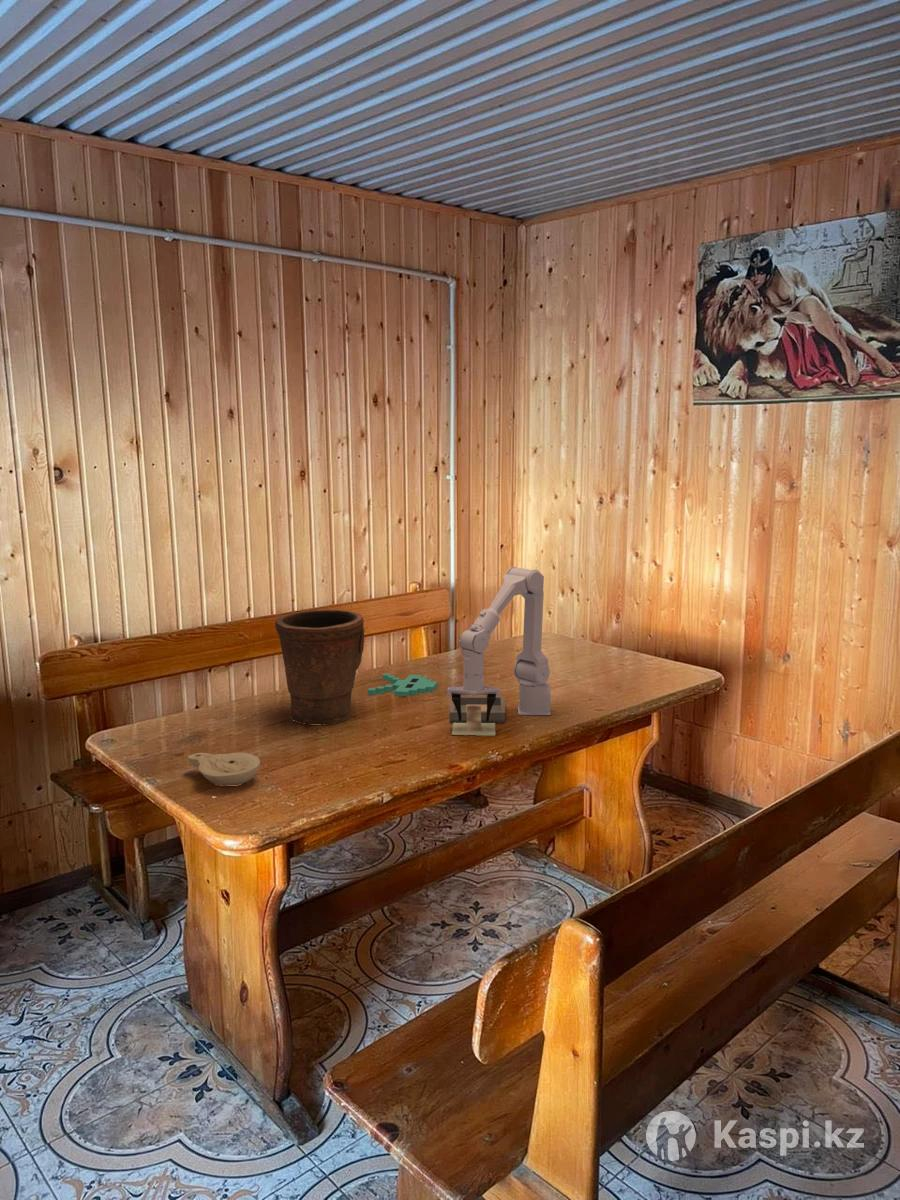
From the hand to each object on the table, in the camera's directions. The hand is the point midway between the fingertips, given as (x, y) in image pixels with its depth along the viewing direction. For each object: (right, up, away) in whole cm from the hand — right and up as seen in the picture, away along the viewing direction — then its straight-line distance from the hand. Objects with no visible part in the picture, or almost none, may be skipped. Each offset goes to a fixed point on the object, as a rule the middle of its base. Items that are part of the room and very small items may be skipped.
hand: (473, 719), depth 250 cm
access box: (+2, 0, +14) cm, 14 cm away
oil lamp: (-63, -10, -34) cm, 72 cm away
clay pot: (-43, -1, +16) cm, 46 cm away
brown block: (0, -3, +1) cm, 3 cm away
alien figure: (-21, +4, +43) cm, 48 cm away
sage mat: (0, -3, +1) cm, 3 cm away
